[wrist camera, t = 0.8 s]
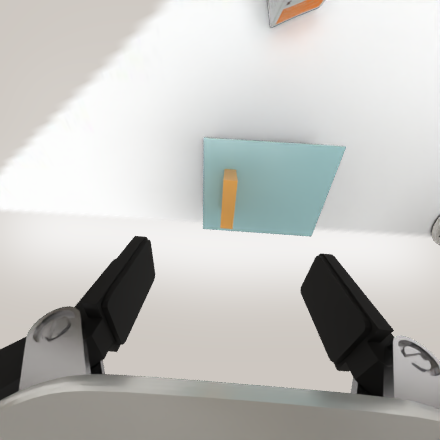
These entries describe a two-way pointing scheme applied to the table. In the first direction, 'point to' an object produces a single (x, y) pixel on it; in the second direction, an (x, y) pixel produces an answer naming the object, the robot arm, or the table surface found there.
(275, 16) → the skincare box
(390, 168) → the table surface
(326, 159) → the lid
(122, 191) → the table surface
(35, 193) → the table surface
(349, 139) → the table surface
